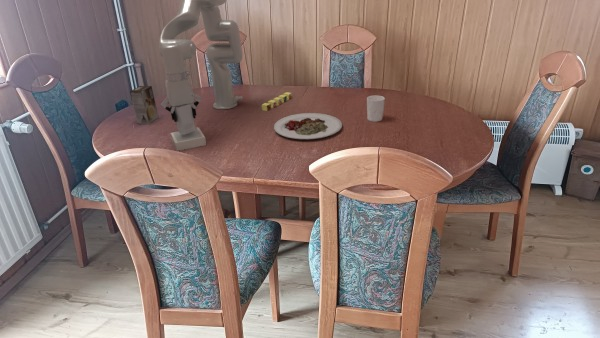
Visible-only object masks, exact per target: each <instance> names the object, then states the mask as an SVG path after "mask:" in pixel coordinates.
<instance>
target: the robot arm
mask: <svg viewBox="0 0 600 338" xmlns="http://www.w3.org/2000/svg"><path fill="white" fill-rule="evenodd" d="M226 2H227V0H179V6H178V10H177V14H176V16H174V17H173V18H171V20H170V21H168V23H167V24H166V25H165V26H164V27H163V28H162V31H161V33H160V37H159V40H158V41H159V42H158V52H159V55H160V56H161V57H162V61H163V66H164V70H165V75H166V80H165V83H164V84H165V85H164V87H165V94H166V97H165V98H164V100H163V101H162V102H161V103H160V106H161V107H162V108H164V110H166V111H167V112H170V117H171V120H172V121H174V122H175V123H176V122H177V119H176V114H175V112H174V109H175V106H181V105H186V104H190V105H191V107H192V112H193V118H194V119H196V117H197V107H198V105H199V104H200V101H201V100H202V96H200V95H199V94H198V93H197V94H196V93H194V91H193V88H192V87H193V86H192V83H191V81H190V79H189V76H191V72H190V71H187V70H186V65H185V61H186V60H190V59H192V58H194V57H195V56H196V53H197V45H196V44H195V42H194V41H193V40H191V39H185V38H183V39H181V38H176V37H178V35H180V34H182V33H184V32H187V31H188V30H191V29H193V28H194V27H196V26H197V25H198V24H199V19H200V15H201V17H202V22H203V28H204V32H205V37H206V38H207V39H208V41H210V42H215V43H211V44H209V45H208V46H207V47H206V50H205V53H206V54H205V55H206V58H207V61H208V64H209V68H210V73H211V79H212V87H213V93H214V99H215V100H214V101H215V102H214V103H212V107H213V108H214V109H216V110H229V109H233V108H236V107H237V106H238V101H243V100H244V97H243V96H242V95H241V96H239V95H236V96H235V95H234V90H233V82H232V73H231V70H230V68H229V66H228V65H227V64H239V63H241V62H242V61H243V56H244V55H243V47H242V42H241V41H242V39H241V34H240V27H239V26H238V23H237V22H236V21H235V20H232V19H231V20H230V19H222V16H221V10H220V7H219V6H222V5H224V4H225V3H226ZM175 38H176V39H175ZM217 42H218V43H217ZM227 42H228V43H227ZM167 104H168V105H169V106H168V105H167Z"/></svg>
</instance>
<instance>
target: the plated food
mask: <svg viewBox="0 0 600 338" xmlns="http://www.w3.org/2000/svg"><path fill="white" fill-rule="evenodd" d="M342 123H343V122H342V121H341V120H340V119H339V118H338V117H335V116H333V115H330V114H325V113H318V112H306V113H305V112H302V113H296V114H291V115H287V116H285V117H283V118H280V119H278V120H277V121H276V122H275V123H274V125H273V130H274V131H275V132H276V133H277V135H280V136H282V137H285V138H289V139H296V140H315V139H323V138H325V137H326V138H327V137H329V136H332V135H335V134H337V133H338V132H339V131H340V130H341V129H342V127H343V124H342Z"/></svg>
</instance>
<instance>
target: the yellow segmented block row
mask: <svg viewBox="0 0 600 338" xmlns="http://www.w3.org/2000/svg"><path fill="white" fill-rule="evenodd" d="M292 99H293V92H287V91H286V92H284V93H283V94H281V95H278V97H277V96H276V97H274V98H273V99H270V100H268V101H267V102H264V103H263V104H261V110H262V111H264V112H268V111H270V110H272V109H274V108H276V107H277V106H280V105H282V104H283V103H285V102H288V100H292Z"/></svg>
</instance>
